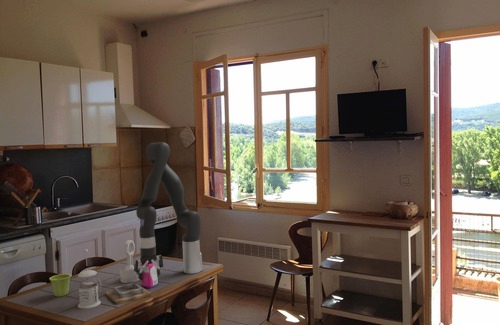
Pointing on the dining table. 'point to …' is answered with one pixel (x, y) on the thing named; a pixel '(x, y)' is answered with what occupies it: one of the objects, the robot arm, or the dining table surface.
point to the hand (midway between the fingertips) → (149, 278)
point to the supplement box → (149, 276)
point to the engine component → (129, 265)
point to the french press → (85, 298)
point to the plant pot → (60, 284)
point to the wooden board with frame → (127, 293)
